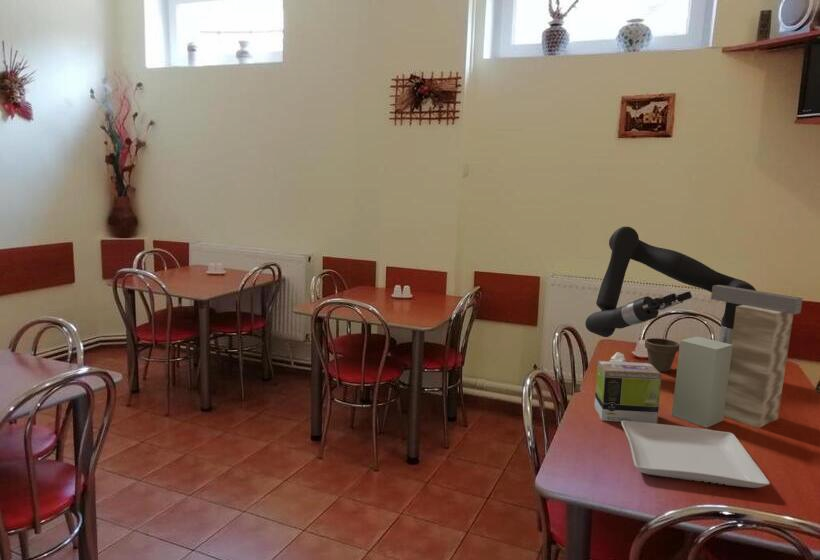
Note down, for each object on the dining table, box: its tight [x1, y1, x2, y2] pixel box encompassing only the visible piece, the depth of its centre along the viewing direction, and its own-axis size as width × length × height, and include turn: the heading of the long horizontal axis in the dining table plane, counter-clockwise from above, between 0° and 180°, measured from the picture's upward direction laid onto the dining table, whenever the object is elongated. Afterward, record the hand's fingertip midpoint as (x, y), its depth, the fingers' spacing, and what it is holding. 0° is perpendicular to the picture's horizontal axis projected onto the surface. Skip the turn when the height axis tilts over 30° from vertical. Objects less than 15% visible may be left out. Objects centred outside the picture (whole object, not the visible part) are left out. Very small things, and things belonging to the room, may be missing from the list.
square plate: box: [620, 421, 771, 489], centre depth 139 cm, size 27×27×4 cm
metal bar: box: [710, 285, 804, 315], centre depth 164 cm, size 4×22×4 cm, turn 37°
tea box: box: [594, 360, 662, 424], centre depth 164 cm, size 15×10×15 cm, turn 84°
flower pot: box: [644, 337, 680, 373], centre depth 209 cm, size 12×11×10 cm
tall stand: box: [723, 305, 794, 429], centre depth 165 cm, size 12×10×32 cm
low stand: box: [671, 336, 733, 429], centre depth 164 cm, size 9×10×22 cm
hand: (683, 295), depth 182 cm, fingers open, 8 cm apart
